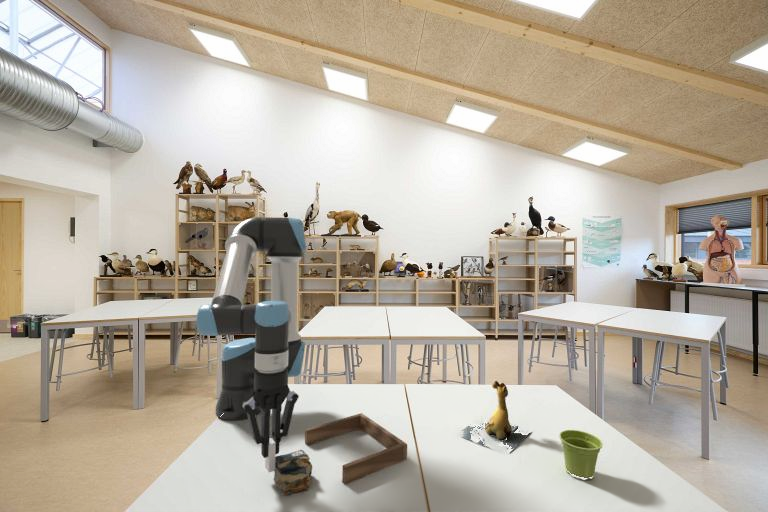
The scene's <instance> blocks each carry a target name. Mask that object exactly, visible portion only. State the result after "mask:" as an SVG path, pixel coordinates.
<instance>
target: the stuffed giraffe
mask: <svg viewBox="0 0 768 512" xmlns="http://www.w3.org/2000/svg"><path fill="white" fill-rule="evenodd" d="M491 386H492V388H493V389H494V390H496V395H497V401H498V404H497V407H496V409H495V411H494V412H493V414H492V415H491V417H490V418H489V421H488V423H489V424H488V423H487V424H486V423H485V428H484V427H483V428H482V426H481V427H479V426H478V427H479V428H478V427H477V428H478V429H480V428H482V429H483V430H484V429H485V432H486V434H487V435H488V436H491V435H493V436H497V437H496V439H497V438H498V439H499V441H502V440H503V441H505V439H506V437H507V440H506V441H505V442H503V444H504V445H506V443H507V445H509V447H510V446H511V447H512V448H511V449H513V448H515V449H516V448H517V447H518V445H519V444H520V443H521V442H522V441H523V440H524V439H526V437H528V436H529V435H522V434H521V433H514V432H515V431H516V430H517V429H518V427H519V426H518V425H514V426H515V427H514V426H511V425H512V424H511V423H510V420H509V411H508V408H507V403H506V400H507V399H506V398H507V397H508V396H509V391H508V388H507V386H506V384H505V383H504V382H500V383H499V382H498V380H495V381H494V382H493V383H492V384H491ZM481 424H482V425H483V424H484V423H481ZM510 424H511V425H510ZM475 427H476V426H475ZM475 427H471V426H469V425H467V426H466V427H465V428H463V429H462V430H461V432H462V433H463V434H462V436H461V438H462V439H464V440H469V441H471V440H470V439H471V434H472V433H470V431H471V429H472V430H473V428H475ZM482 429H481V430H482ZM476 431H477V430H476ZM472 435H473V434H472ZM493 436H492V437H493ZM498 439H497V440H498ZM478 443H479V444H478ZM478 443H477V444H478V445H481V446H483V447H485V446H484V445H485V443H484V444H483V442H482V441H481V440H480V441H479V442H478Z"/></svg>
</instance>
